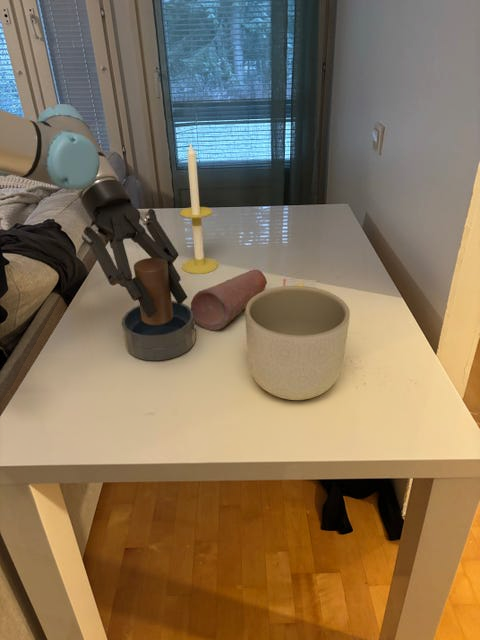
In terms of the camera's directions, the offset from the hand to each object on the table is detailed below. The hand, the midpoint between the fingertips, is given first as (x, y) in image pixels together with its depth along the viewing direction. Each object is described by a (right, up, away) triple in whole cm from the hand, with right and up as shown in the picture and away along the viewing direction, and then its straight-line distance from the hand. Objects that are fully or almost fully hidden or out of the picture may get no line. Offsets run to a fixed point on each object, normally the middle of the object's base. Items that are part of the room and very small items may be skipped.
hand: (168, 307), depth 77 cm
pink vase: (+11, 0, +29) cm, 32 cm away
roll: (-2, -2, +4) cm, 5 cm away
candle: (+1, +13, +51) cm, 52 cm away
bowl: (-4, -7, +19) cm, 21 cm away
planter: (+22, -13, +7) cm, 26 cm away
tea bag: (+25, -2, +25) cm, 35 cm away
